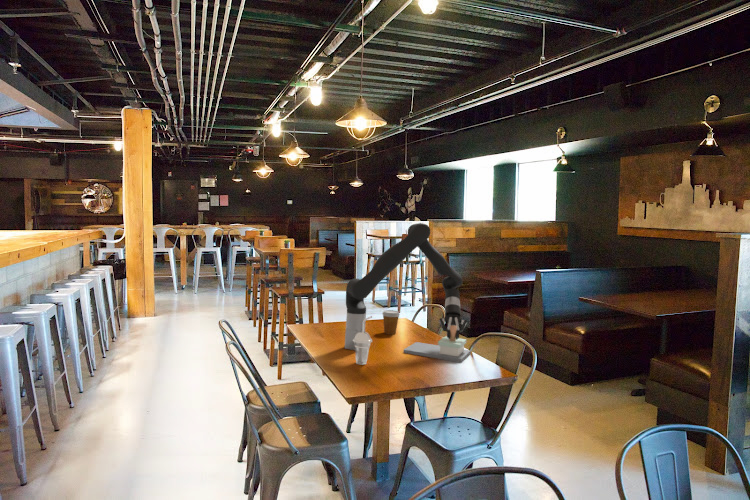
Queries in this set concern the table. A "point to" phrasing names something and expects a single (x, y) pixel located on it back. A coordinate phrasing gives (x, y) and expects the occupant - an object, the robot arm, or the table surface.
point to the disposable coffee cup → (390, 321)
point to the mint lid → (452, 339)
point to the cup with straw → (362, 345)
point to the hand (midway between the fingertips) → (453, 338)
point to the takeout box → (451, 350)
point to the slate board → (434, 352)
